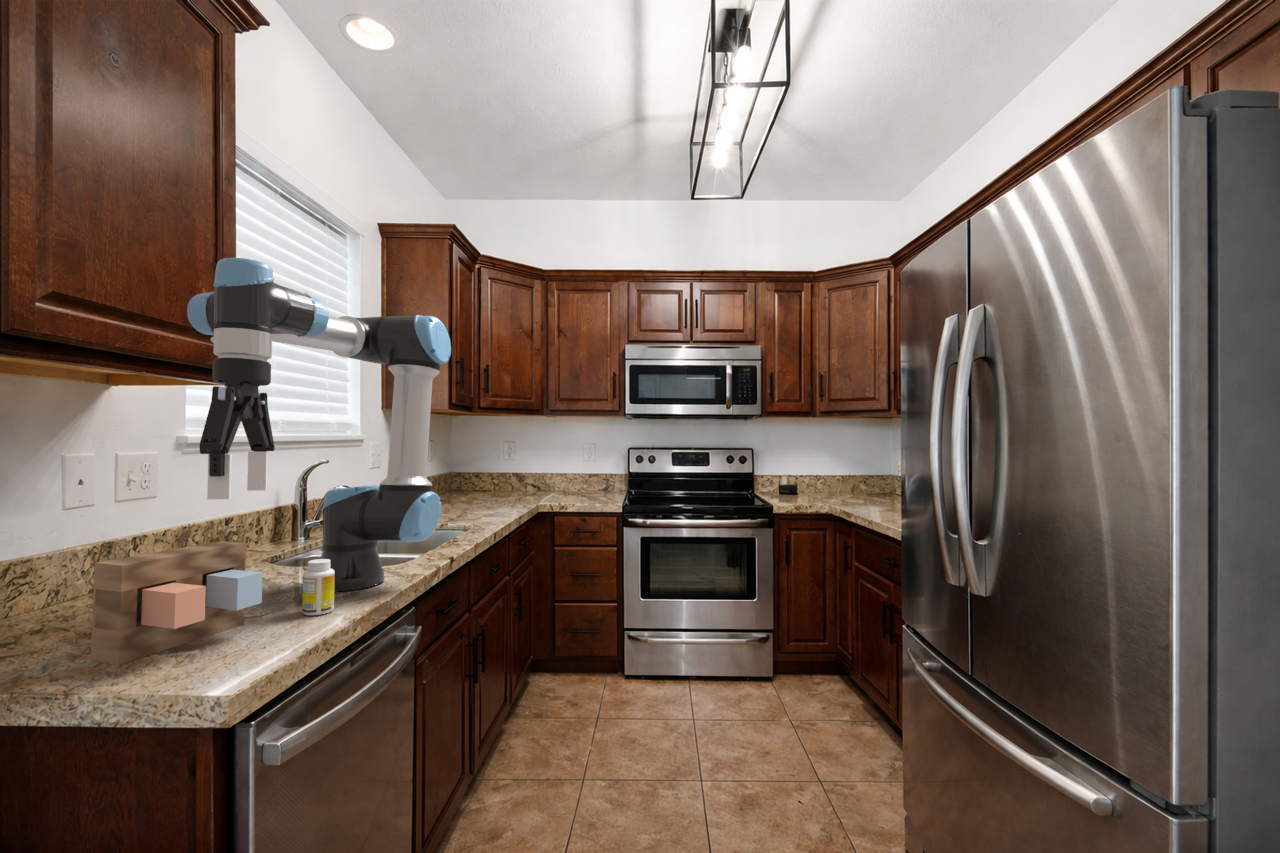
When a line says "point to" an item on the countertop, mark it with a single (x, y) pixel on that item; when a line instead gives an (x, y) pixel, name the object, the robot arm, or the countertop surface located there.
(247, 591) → the slate button
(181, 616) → the terracotta button
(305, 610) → the supplement bottle
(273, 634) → the countertop surface
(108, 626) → the brown wooden block
